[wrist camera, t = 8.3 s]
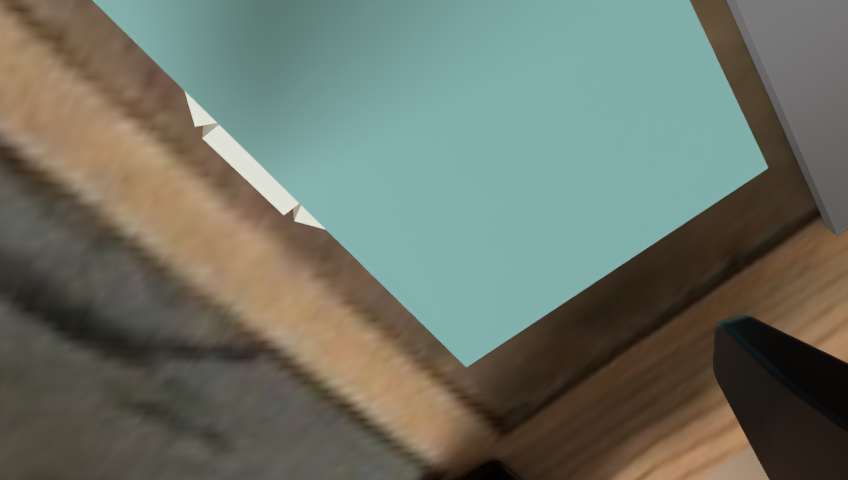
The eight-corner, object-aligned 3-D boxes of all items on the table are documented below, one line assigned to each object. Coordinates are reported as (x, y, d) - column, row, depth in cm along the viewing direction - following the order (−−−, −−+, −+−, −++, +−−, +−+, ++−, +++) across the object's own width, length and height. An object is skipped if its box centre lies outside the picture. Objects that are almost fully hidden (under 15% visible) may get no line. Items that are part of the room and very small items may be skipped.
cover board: (691, 103, 17) (768, 167, 14) (435, 281, 18) (466, 367, 16) (441, -379, 11) (497, -409, 9) (99, -74, 13) (65, -27, 10)
